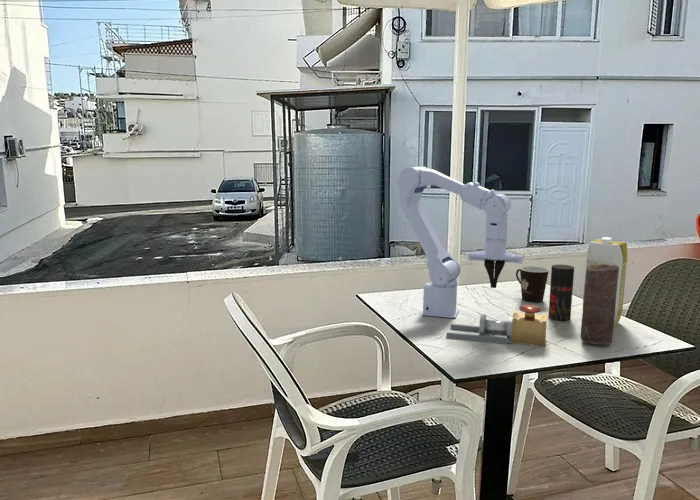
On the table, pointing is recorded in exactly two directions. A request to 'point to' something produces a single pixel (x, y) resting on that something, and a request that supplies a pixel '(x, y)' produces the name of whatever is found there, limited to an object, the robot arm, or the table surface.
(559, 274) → the deodorant
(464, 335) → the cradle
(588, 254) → the juice carton
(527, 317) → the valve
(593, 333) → the rock core sample
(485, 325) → the spool
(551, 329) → the table surface
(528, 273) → the coffee mug
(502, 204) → the robot arm
